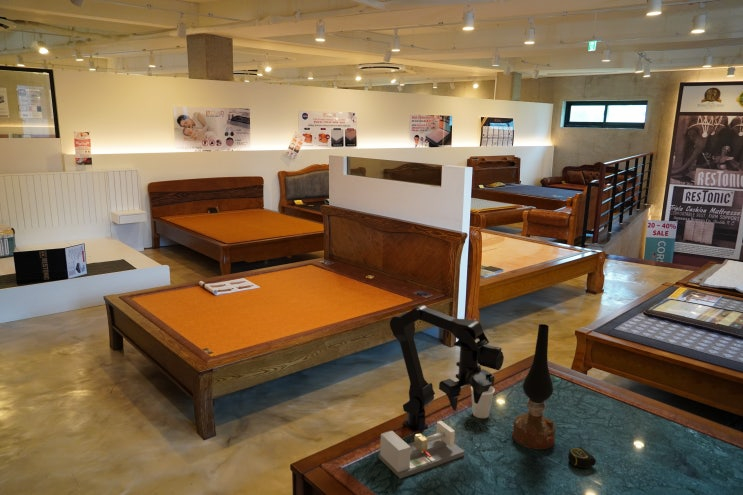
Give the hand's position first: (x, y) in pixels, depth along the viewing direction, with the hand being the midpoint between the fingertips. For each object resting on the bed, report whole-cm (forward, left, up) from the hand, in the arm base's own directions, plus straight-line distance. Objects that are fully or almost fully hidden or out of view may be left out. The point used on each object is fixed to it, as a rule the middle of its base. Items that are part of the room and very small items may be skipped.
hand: (465, 406), depth 175 cm
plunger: (0, -11, -10) cm, 15 cm away
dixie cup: (-11, +18, -13) cm, 25 cm away
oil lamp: (+9, +23, -13) cm, 28 cm away
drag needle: (+1, -17, -10) cm, 20 cm away
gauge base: (0, -16, -13) cm, 21 cm away
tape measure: (+26, +25, -13) cm, 38 cm away
